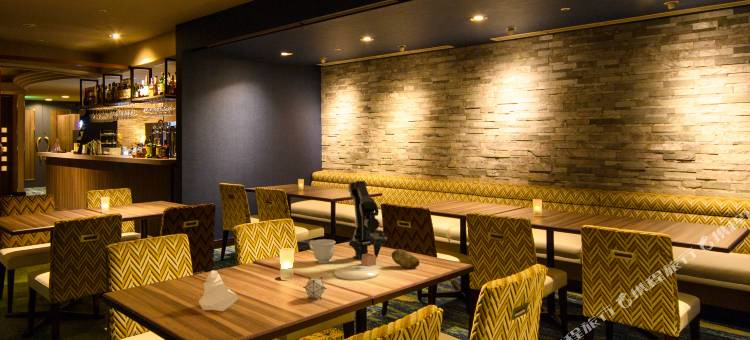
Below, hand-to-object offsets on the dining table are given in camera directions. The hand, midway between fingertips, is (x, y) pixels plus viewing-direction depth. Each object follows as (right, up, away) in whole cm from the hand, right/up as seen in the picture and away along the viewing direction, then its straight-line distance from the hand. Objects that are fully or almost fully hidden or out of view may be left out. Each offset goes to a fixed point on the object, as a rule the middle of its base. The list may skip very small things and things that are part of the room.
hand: (368, 259), depth 258 cm
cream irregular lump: (-55, -8, -60) cm, 81 cm away
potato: (+17, -3, -4) cm, 18 cm away
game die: (-20, -7, -51) cm, 55 cm away
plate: (-5, -4, -16) cm, 17 cm away
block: (0, -3, 0) cm, 3 cm away
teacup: (-23, -3, +8) cm, 25 cm away
